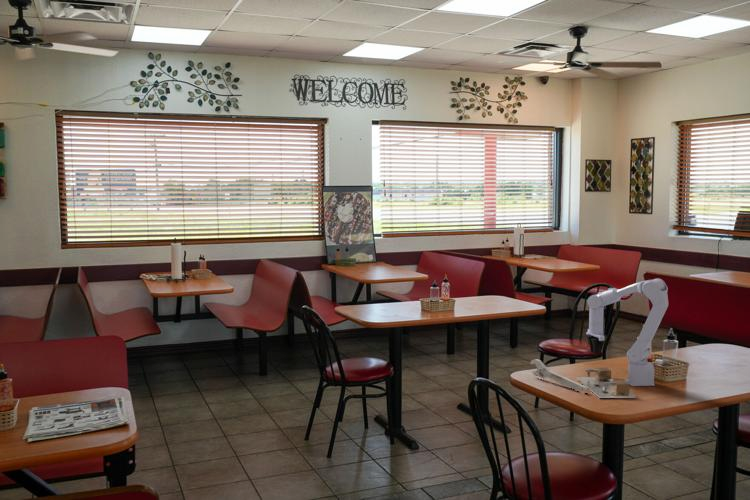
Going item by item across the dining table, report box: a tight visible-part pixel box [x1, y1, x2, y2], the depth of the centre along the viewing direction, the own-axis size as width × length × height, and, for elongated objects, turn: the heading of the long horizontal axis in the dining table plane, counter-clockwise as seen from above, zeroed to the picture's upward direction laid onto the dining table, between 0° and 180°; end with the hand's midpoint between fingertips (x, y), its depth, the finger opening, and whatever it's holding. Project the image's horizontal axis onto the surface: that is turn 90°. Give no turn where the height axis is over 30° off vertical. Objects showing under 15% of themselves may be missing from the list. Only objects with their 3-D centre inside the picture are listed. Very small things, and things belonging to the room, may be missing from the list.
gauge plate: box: [576, 376, 636, 399], centre depth 270 cm, size 14×26×5 cm, turn 2°
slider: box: [583, 367, 612, 380], centre depth 280 cm, size 10×5×4 cm, turn 92°
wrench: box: [529, 358, 590, 393], centre depth 275 cm, size 8×2×30 cm
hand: (595, 353), depth 288 cm, fingers open, 4 cm apart
